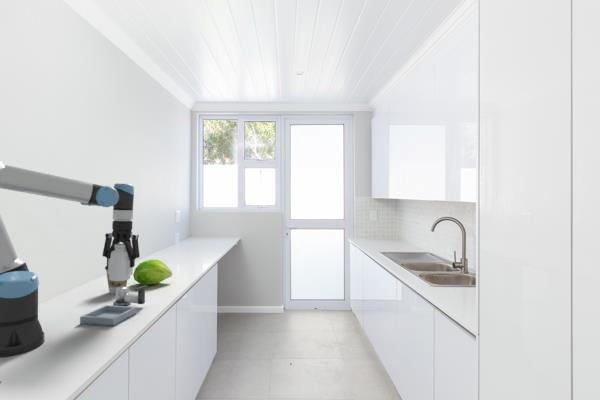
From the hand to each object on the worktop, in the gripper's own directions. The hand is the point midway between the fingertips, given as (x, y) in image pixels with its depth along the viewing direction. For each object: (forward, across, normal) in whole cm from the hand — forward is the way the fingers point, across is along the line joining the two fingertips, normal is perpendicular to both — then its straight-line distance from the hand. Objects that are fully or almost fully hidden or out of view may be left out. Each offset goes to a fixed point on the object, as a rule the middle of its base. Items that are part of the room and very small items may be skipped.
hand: (120, 274), depth 144 cm
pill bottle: (+2, 0, 0) cm, 2 cm away
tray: (+16, -1, +7) cm, 18 cm away
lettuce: (+15, +11, -45) cm, 49 cm away
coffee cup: (+16, +20, -28) cm, 38 cm away
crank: (+14, +1, -9) cm, 17 cm away
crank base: (+16, +5, -15) cm, 22 cm away
